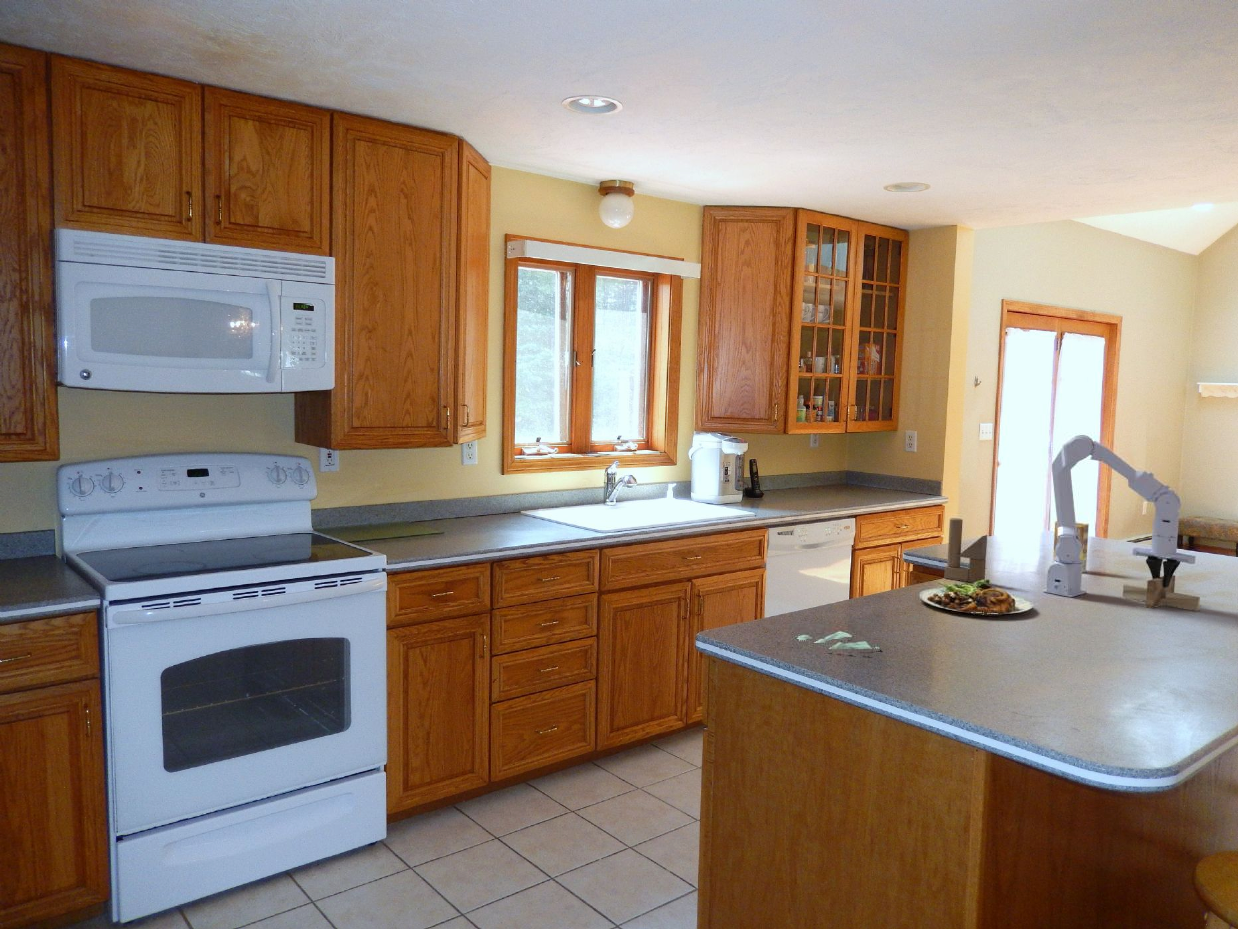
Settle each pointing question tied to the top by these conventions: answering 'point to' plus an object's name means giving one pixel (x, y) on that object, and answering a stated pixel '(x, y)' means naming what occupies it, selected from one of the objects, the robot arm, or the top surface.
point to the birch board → (1170, 599)
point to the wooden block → (965, 555)
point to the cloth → (839, 645)
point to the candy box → (1083, 536)
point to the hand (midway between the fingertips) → (1161, 586)
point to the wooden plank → (1158, 591)
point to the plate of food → (975, 599)
